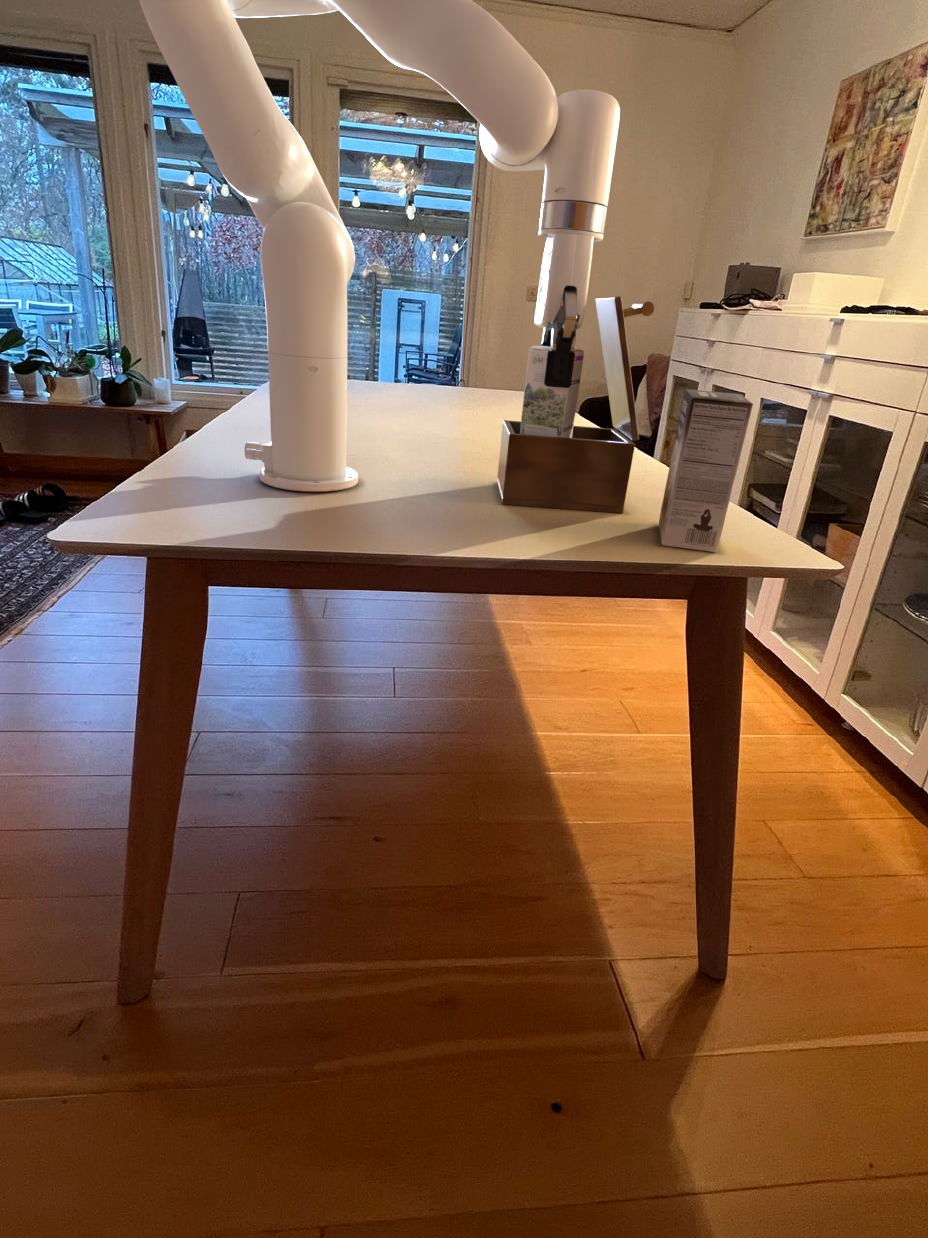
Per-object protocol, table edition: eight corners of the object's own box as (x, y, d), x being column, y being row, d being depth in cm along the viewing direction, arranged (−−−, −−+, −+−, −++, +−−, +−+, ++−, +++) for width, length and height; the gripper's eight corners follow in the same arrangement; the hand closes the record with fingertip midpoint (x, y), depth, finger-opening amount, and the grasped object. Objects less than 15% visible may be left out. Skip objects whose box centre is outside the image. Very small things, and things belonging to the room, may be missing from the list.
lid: (614, 297, 78) (660, 286, 78) (595, 298, 89) (635, 288, 89) (632, 440, 85) (675, 431, 85) (612, 426, 96) (650, 417, 95)
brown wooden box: (502, 504, 88) (509, 433, 84) (496, 483, 99) (503, 419, 95) (622, 513, 89) (635, 443, 85) (604, 491, 99) (615, 428, 96)
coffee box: (656, 524, 85) (683, 387, 79) (709, 531, 84) (741, 393, 78) (660, 546, 77) (691, 395, 70) (719, 554, 76) (756, 402, 69)
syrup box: (569, 464, 93) (586, 349, 87) (556, 471, 88) (572, 349, 82) (530, 457, 95) (543, 344, 90) (514, 464, 90) (527, 344, 85)
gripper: (532, 229, 88) (517, 375, 95) (549, 211, 72) (530, 388, 80) (590, 234, 89) (571, 379, 96) (620, 218, 73) (594, 393, 80)
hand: (552, 382), depth 88 cm, fingers closed on syrup box, 7 cm apart
